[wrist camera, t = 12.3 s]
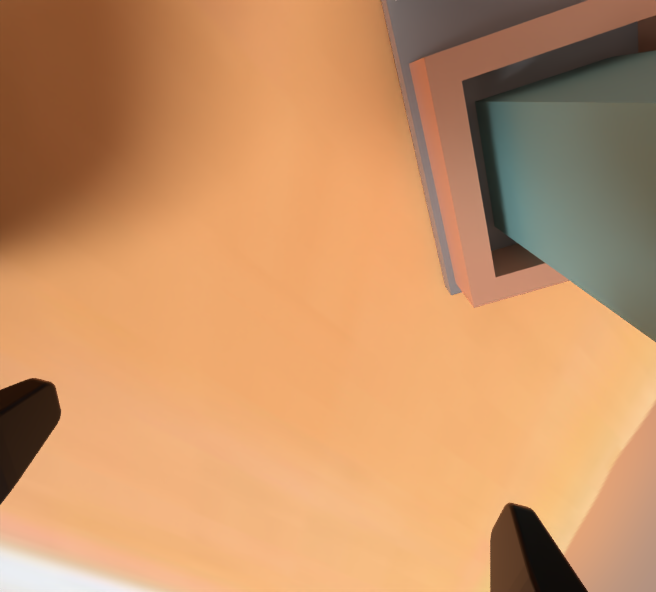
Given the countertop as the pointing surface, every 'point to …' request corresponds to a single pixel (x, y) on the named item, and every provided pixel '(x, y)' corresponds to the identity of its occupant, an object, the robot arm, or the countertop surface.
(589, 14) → the organiser
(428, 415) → the countertop surface
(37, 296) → the countertop surface
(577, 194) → the plug
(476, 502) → the countertop surface
